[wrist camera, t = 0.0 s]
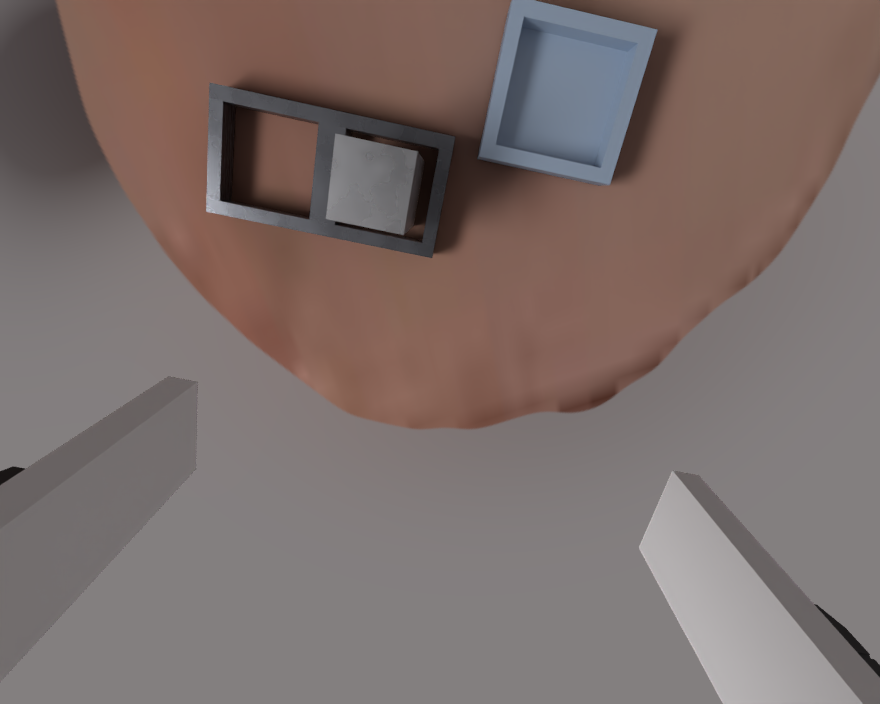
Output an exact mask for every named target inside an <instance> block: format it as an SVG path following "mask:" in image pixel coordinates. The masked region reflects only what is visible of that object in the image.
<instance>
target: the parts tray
mask: <svg viewBox="0 0 880 704" xmlns="http://www.w3.org/2000/svg"><path fill="white" fill-rule="evenodd" d="M656 33H657V29H653V28H649V27H644V26H640V25H636V24H632V23H628V22H623V21H619V20H615V19H611V18H607V17H602V16H598V15H594V14H590V13H585V12H581V11H577V10H573V9H569V8H564V7H560V6H556V5H552V4H548V3H543V2H539V1H535V0H512V1H511V4H510V7H509V10H508V14H507V19H506V24H505V29H504V33H503V38H502V43H501V48H500V53H499V57H498V62H497V67H496V72H495V76H494V81H493V86H492V91H491V95H490V100H489V105H488V110H487V114H486V119H485V124H484V129H483V133H482V138H481V143H480V148H479V152H478V157H477V159H479V160H484V161H488V162H493V163H498V164H502V165H507V166H511V167H516V168H521V169H525V170H530V171H534V172H539V173H544V174H548V175H553V176H557V177H562V178H566V179H571V180H576V181H580V182H585V183H589V184H594V185H599V186H601V185H610V183H611V180H612V176H613V173H614V170H615V167H616V163H617V160H618V157H619V154H620V150H621V147H622V144H623V141H624V137H625V134H626V131H627V127H628V124H629V121H630V118H631V114H632V111H633V108H634V105H635V101H636V98H637V95H638V92H639V88H640V85H641V82H642V79H643V75H644V72H645V69H646V66H647V62H648V59H649V56H650V53H651V49H652V46H653V43H654V40H655V36H656Z"/></svg>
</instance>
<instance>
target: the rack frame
mask: <svg viewBox="0 0 880 704" xmlns="http://www.w3.org/2000/svg"><path fill="white" fill-rule="evenodd" d="M235 106H236V107H241V108H245V109H250V110H254V111H259V112H264V113H268V114H273V115H277V116H282V117H287V118H291V119H296V120H300V121H305V122H309V123H314V124H319V127H318V137H317V147H316V157H315V167H314V177H313V187H312V197H311V207H310V217H307V216H302V215H298V214H293V213H288V212H283V211H278V210H274V209H269V208H264V207H259V206H254V205H249V204H245V203H240V202H235V201H231V198H232V175H233V151H234V128H235ZM351 132H355V133H360V134H365V135H369V136H374V137H378V138H383V139H387V140H392V141H397V142H401V143H406V144H410V145H415V146H420V147H424V148H429V149H433V150H438V151H439V153H438V158H437V164H436V169H435V175H434V180H433V186H432V191H431V197H430V202H429V208H428V213H427V218H426V224H425V229H424V235H423V240H418V239H413V238H409V237H404V236H399V235H394V234H389V233H384V232H380V231H375V230H370V229H365V228H360V227H356V226H351V225H346V224H341V223H340V222H338V221H333V220H328V219H326V213H327V204H328V195H329V186H330V177H331V168H332V159H333V150H334V141H335V133H336V134H340V135H345V136H349V137H351ZM454 142H455V137H454V136H450V135H445V134H441V133H436V132H432V131H427V130H422V129H418V128H413V127H409V126H404V125H400V124H395V123H391V122H386V121H382V120H377V119H372V118H368V117H363V116H359V115H354V114H350V113H345V112H341V111H336V110H331V109H327V108H322V107H318V106H313V105H309V104H304V103H300V102H295V101H291V100H286V99H281V98H277V97H272V96H268V95H263V94H259V93H254V92H250V91H245V90H241V89H236V88H231V87H227V86H222V85H218V84H213V83H210V86H209V126H208V165H207V205H206V212H211V213H215V214H220V215H225V216H230V217H235V218H240V219H245V220H250V221H254V222H259V223H264V224H269V225H274V226H279V227H284V228H288V229H293V230H298V231H303V232H308V233H313V234H318V235H322V236H327V237H332V238H337V239H342V240H347V241H352V242H357V243H361V244H366V245H371V246H376V247H381V248H386V249H391V250H395V251H400V252H405V253H410V254H415V255H420V256H425V257H429V258H432V256H433V251H434V246H435V241H436V235H437V230H438V225H439V220H440V215H441V210H442V204H443V199H444V194H445V189H446V184H447V178H448V173H449V168H450V163H451V158H452V152H453V147H454Z"/></svg>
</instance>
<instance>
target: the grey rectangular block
mask: <svg viewBox="0 0 880 704" xmlns="http://www.w3.org/2000/svg"><path fill="white" fill-rule="evenodd" d="M424 164H425V161H424V160H423V158H422V157H421V155H420V154H419V153H418V151H414V150H409V149H405V148H400V147H395V146H391V145H386V144H382V143H377V142H372V141H368V140H363V139H359V138H354V137H349V136H345V135H340V134H336V133H335V141H334V150H333V159H332V168H331V177H330V186H329V195H328V204H327V213H326V219H328V220H333V221H338V222H343V223H348V224H352V225H357V226H362V227H367V228H372V229H376V230H381V231H386V232H391V233H396V234H401V235H404V234H405V233H406V232H408V231H409V230H410V229H411V228H412V227H413V226H414V222H415V216H416V210H417V204H418V199H419V193H420V187H421V182H422V176H423V170H424Z"/></svg>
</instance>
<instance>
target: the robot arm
mask: <svg viewBox="0 0 880 704" xmlns="http://www.w3.org/2000/svg"><path fill="white" fill-rule="evenodd" d="M197 393H198V382H196V381H191V380H185V379H180V378H175V377H167V378H165V379H164V380H162V381H160V382H159V383H157V384H156V385H154V386H153V387H151V388H150V389H148V390H147V391H145V392H143V393H142V394H140V395H139V396H137V397H136V398H134V399H133V400H131V401H130V402H128V403H126V404H125V405H123V406H122V407H120V408H119V409H117V410H116V411H114V412H113V413H111V414H110V415H108V416H107V417H105V418H103V419H102V420H100V421H99V422H97V423H96V424H94V425H93V426H91V427H89V428H88V429H86V430H85V431H83V432H82V433H80V434H79V435H77V436H76V437H74V438H72V439H71V440H70V441H68V442H66V443H65V444H63V445H62V446H60V447H59V448H57V449H56V450H54V451H52V452H51V453H49V454H48V455H46V456H45V457H43V458H42V459H40V460H39V461H37V462H35V463H34V464H32V465H31V466H29V467H28V468H26V469H24V468H19V467H10V468H8V469H5V470H3V471H0V682H1V680H3V679H4V677H5V676H6V675H7V674H8V673H9V672H10V671H11V670H12V669H13V667H15V665H16V664H17V663H18V662H19V661H20V660H21V659H22V658H23V657H24V656H25V654H26V653H27V652H28V651H29V650H30V649H31V648H32V647H33V646H34V645H35V644H36V643H37V641H38V640H39V639H40V638H41V637H42V636H43V635H44V634H45V633H46V632H47V631H48V629H50V627H51V626H52V625H53V624H54V623H55V622H56V621H57V620H58V619H59V618H60V617H61V615H62V614H63V613H64V612H65V611H66V610H67V609H68V608H69V607H70V606H71V605H72V603H73V602H74V601H75V600H76V599H77V598H78V597H79V596H80V595H81V594H82V593H83V592H84V590H85V589H86V588H87V587H88V586H89V585H90V584H91V583H92V582H93V581H94V580H95V578H96V577H97V576H98V575H99V574H100V573H101V572H102V571H103V570H104V569H105V568H106V566H107V565H108V564H109V563H110V562H111V561H112V560H113V559H114V558H115V557H116V556H117V555H118V553H119V552H120V551H121V550H122V549H123V548H124V547H125V546H126V545H127V544H128V543H129V542H130V540H131V539H132V538H133V537H134V536H135V535H136V534H137V533H138V532H139V531H140V529H141V528H142V527H143V526H144V525H145V524H146V523H147V522H148V521H149V520H150V518H152V516H153V515H154V514H155V513H156V512H157V511H158V510H159V509H160V508H161V507H162V505H164V503H165V502H166V501H167V500H168V499H169V498H170V497H171V496H172V495H173V494H174V492H175V491H176V490H177V489H178V488H179V487H180V486H181V485H182V484H183V483H184V482H185V481H186V480H187V478H188V477H189V476H190V475H191V474H192V473H193V472H194V471H195V470H196V439H197V437H196V436H197ZM639 549H640V551H641V553H642V555H643V557H644V559H645V560H646V562H647V564H648V566H649V568H650V570H651V572H652V573H653V575H654V577H655V579H656V581H657V583H658V584H659V586H660V588H661V590H662V592H663V594H664V595H665V597H666V599H667V601H668V603H669V605H670V607H671V609H672V610H673V612H674V614H675V616H676V618H677V619H678V621H679V623H680V625H681V627H682V629H683V631H684V633H685V634H686V636H687V638H688V639H689V642H690V644H691V646H692V647H693V649H694V651H695V653H696V655H697V656H698V658H699V660H700V662H701V664H702V666H703V668H704V669H705V671H706V673H707V675H708V677H709V679H710V681H711V683H712V684H713V686H714V688H715V690H716V692H717V694H718V695H719V697H720V699H721V701H722V703H723V704H880V665H879V664H878V663H877V662H876V661H875V660H874V659H871V658H870V656H869V655H870V654H869V653H868V652H867V651H866V650H865V649H864V647H863V646H861V644H860V643H859V642H858V641H857V640H856V639H855V638H854V637H853V636H852V634H851V633H850V632H849V631H848V630H847V629H846V628H845V627H844V626H842V625H841V624H840V623H839V622H837V621H836V620H835V619H834V618H832V617H831V616H830V615H829V614H827V613H826V612H825V611H824V610H823V609H821V608H820V607H819V606H818V605H815V604H813V602H812V601H810V599H809V598H808V597H807V596H806V595H805V594H804V593H803V591H802V590H801V589H800V588H799V587H798V586H797V585H796V584H795V583H794V581H793V580H792V579H791V578H790V577H789V576H788V575H787V573H786V572H785V571H784V570H783V569H782V568H781V567H780V566H779V564H777V562H776V561H775V560H774V559H773V558H772V557H771V556H770V554H769V553H768V552H767V551H766V550H765V549H764V548H763V547H762V546H761V544H760V543H759V542H758V541H757V540H756V539H755V538H754V537H753V535H752V534H751V533H750V532H749V531H748V530H747V529H746V528H745V527H744V525H743V524H742V523H741V522H740V521H739V520H738V519H737V518H736V516H734V514H733V513H732V512H731V511H730V510H729V509H728V508H727V506H726V505H725V504H724V503H723V502H722V501H721V500H720V499H719V497H718V496H717V495H716V494H715V493H714V492H713V491H712V490H711V489H710V487H709V486H708V485H707V484H706V483H705V482H704V481H703V480H702V479H701V477H700V476H698V475H694V474H688V473H683V472H678V471H672V473H671V475H670V477H669V480H668V482H667V484H666V487H665V489H664V491H663V494H662V496H661V498H660V500H659V503H658V505H657V507H656V509H655V512H654V514H653V516H652V519H651V521H650V523H649V525H648V528H647V530H646V532H645V535H644V537H643V539H642V541H641V544H640V546H639Z"/></svg>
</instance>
